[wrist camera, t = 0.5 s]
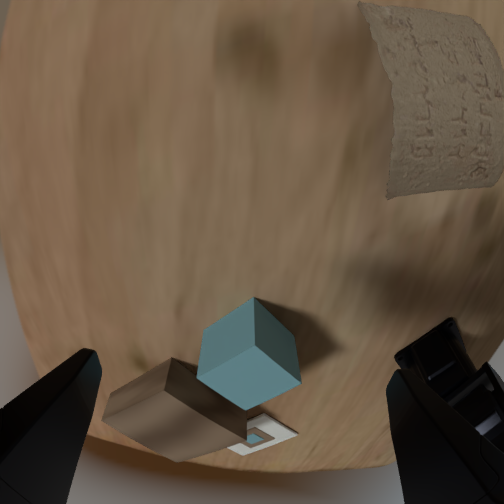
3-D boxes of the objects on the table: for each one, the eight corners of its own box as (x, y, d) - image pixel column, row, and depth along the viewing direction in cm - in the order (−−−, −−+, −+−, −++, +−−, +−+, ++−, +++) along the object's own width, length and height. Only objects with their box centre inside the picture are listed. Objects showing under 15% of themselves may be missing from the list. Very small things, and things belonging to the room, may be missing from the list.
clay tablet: (347, -2, 14) (362, -14, 12) (474, 8, 13) (496, 4, 11) (381, 212, 21) (397, 228, 18) (490, 192, 20) (511, 204, 18)
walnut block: (247, 407, 30) (247, 440, 27) (181, 434, 33) (177, 462, 30) (172, 354, 26) (163, 390, 23) (111, 390, 29) (101, 420, 26)
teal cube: (294, 335, 25) (301, 383, 21) (245, 363, 27) (245, 410, 22) (253, 296, 23) (254, 345, 19) (203, 329, 25) (196, 378, 20)
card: (297, 433, 32) (297, 436, 32) (242, 453, 35) (242, 456, 34) (264, 412, 30) (264, 416, 30) (208, 435, 32) (208, 439, 32)
